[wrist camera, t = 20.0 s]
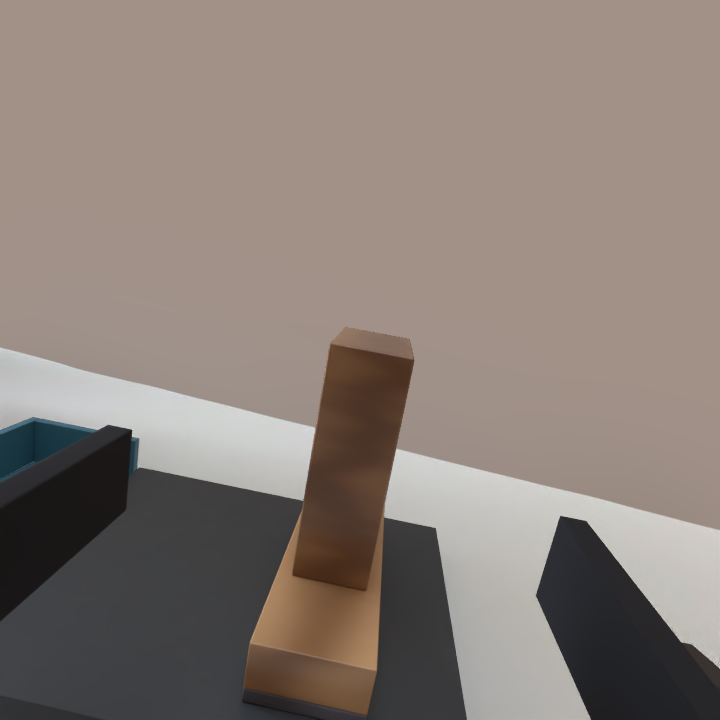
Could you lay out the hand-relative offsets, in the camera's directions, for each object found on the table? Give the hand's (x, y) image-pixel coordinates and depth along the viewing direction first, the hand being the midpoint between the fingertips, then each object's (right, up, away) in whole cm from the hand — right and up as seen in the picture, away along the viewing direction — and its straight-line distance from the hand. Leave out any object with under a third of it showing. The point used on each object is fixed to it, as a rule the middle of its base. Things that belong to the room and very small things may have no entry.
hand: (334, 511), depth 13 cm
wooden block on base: (-1, -7, +8) cm, 10 cm away
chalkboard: (-5, -7, +8) cm, 12 cm away
